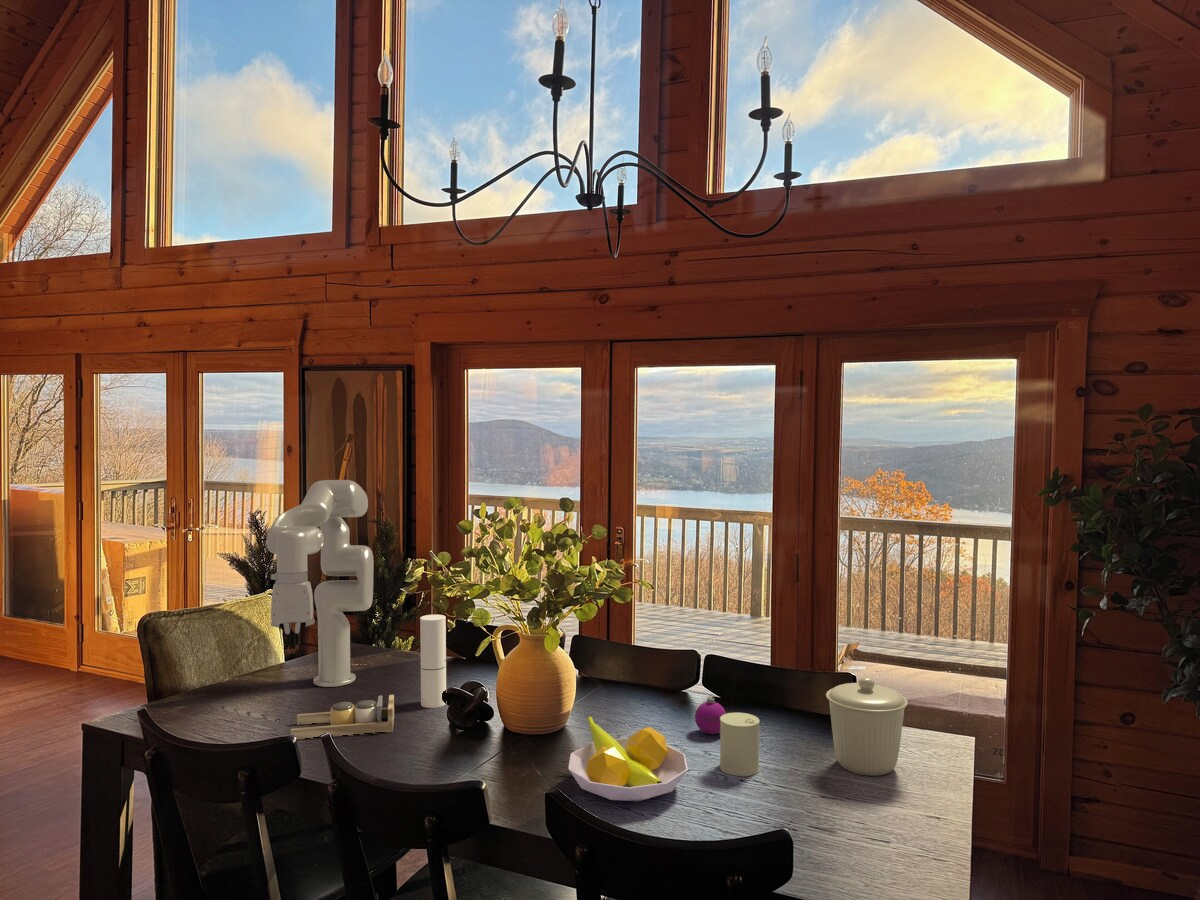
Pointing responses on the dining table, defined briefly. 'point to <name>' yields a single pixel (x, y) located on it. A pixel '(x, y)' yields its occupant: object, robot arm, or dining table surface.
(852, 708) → the canister
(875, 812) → the dining table surface
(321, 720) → the lane
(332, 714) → the amber jar
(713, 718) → the christmas ornament
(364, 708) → the cream jar
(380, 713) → the pusher
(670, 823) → the dining table surface
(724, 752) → the can
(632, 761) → the fruit bowl
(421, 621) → the cylindrical container
